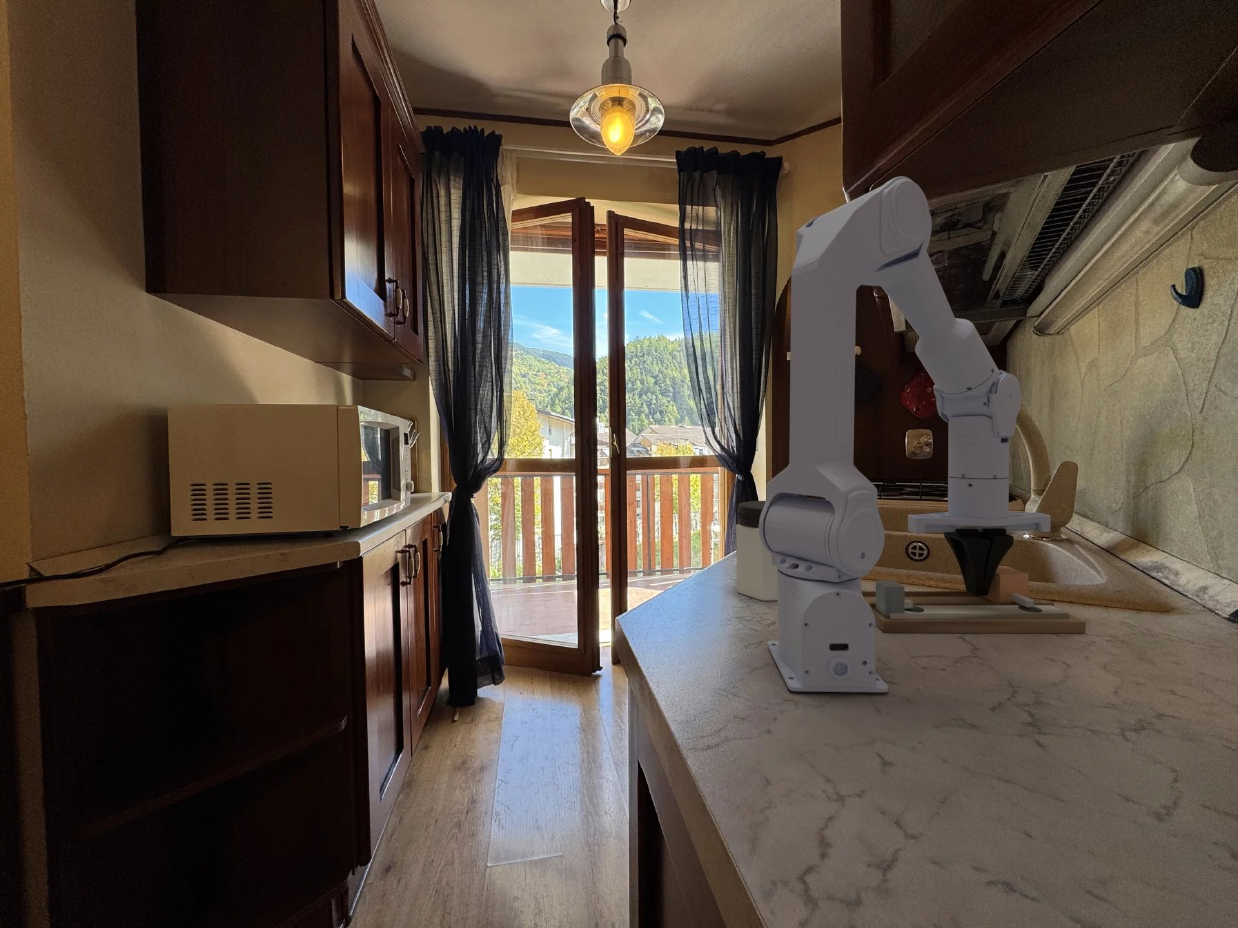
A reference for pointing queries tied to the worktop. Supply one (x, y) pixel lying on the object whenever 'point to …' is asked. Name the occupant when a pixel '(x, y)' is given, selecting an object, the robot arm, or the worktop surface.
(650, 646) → the worktop surface
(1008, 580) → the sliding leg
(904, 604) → the fixed leg
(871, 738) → the worktop surface
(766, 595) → the jar
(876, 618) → the board
